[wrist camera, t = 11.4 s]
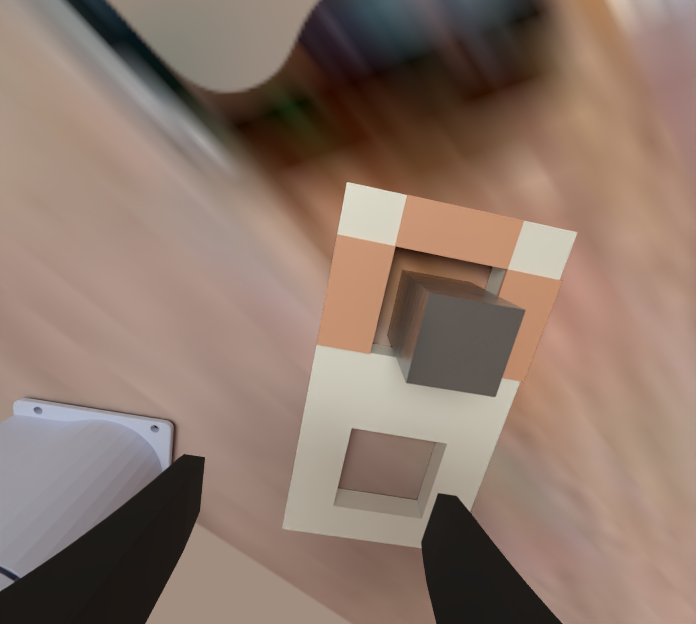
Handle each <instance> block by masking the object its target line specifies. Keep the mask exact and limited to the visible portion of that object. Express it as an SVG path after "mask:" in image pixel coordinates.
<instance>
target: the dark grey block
mask: <svg viewBox="0 0 696 624" xmlns="http://www.w3.org/2000/svg"><path fill="white" fill-rule="evenodd" d="M525 311H526V310H525V309H523V308H521V307H519V306H517V305H515V304H513V303H511V302H509V301H507V300H505V299H503V298H501V297H499V296H497V295H495V294H493V293H491V292H489V291H487V290H485V289H483V288H481V287H479V286H477V285H475V284H473V283H471V282H467V281H461V280H456V279H450V278H445V277H439V276H434V275H429V274H423V273H418V272H412V271H407V270H402V274H401V278H400V282H399V287H398V291H397V295H396V300H395V304H394V308H393V313H392V317H391V321H390V326H389V330H388V334H387V335H388V338H389V340H390V343H391V345H392V348H393V351H394V353H395V356H396V358H397V361H398V364H399V366H400V369H401V371H402V374H403V377H404V379H405V382H406V383H409V384H415V385H421V386H428V387H434V388H440V389H446V390H453V391H459V392H465V393H471V394H478V395H484V396H490V397H496V395H497V392H498V389H499V386H500V383H501V380H502V377H503V374H504V371H505V369H506V366H507V363H508V360H509V357H510V354H511V351H512V348H513V345H514V343H515V340H516V337H517V334H518V331H519V328H520V325H521V322H522V320H523V317H524V314H525Z"/></svg>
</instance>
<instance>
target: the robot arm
mask: <svg viewBox="0 0 696 624" xmlns="http://www.w3.org/2000/svg"><path fill="white" fill-rule="evenodd" d="M40 408H41V409H42V410H41V409H40ZM13 411H14V415H13V416H11V417H9V418H8V419H6V420H5V421H3V422H1V423H0V624H145V623H146V621H147V619H148V617H149V615H150V614H151V612H152V610H153V608H154V606H155V604H156V602H157V600H158V598H159V596H160V594H161V593H162V591H163V589H164V587H165V585H166V583H167V581H168V580H169V578H170V576H171V574H172V572H173V570H174V568H175V566H176V564H177V562H178V560H179V558H180V557H181V554H182V553H183V551H184V548H185V546H186V543H187V541H188V539H189V537H190V534H191V532H192V529H193V527H194V524H195V522H196V519H197V517H198V514H199V512H200V504H201V493H202V483H203V473H204V462H205V457H199V456H193V455H186V454H184V455H182V456H181V457H179V458H178V459H177V460H176V461H175V462H174V463H172V447H173V431H174V427H173V424H172V423H171V422H170V421H167V420H162V419H156V418H149V417H143V416H137V415H131V414H124V413H118V412H112V411H105V410H99V409H93V408H87V407H80V406H74V405H68V404H62V403H55V402H49V401H43V400H36V399H30V398H21V399H19V400H17V401H15V402H14V403H13ZM154 425H155V426H157V427H158V428H159V429H158V428H156V427H155V426H154ZM171 463H172V464H171ZM421 546H422V554H423V562H424V569H425V575H426V582H427V586H428V590H429V595H430V599H431V603H432V607H433V611H434V615H435V619H436V623H437V624H562V623H561V622H560V621H559V619H558V618H557V617H556V616H555V615H554V614H553V613H552V612H551V611H550V610H549V608H548V607H547V606H546V605H545V604H544V603H543V601H542V600H541V599H540V598H539V597H538V596H537V595H536V593H535V592H534V591H533V590H532V589H531V588H530V587H529V585H528V584H527V583H526V582H525V581H524V580H523V578H522V577H521V576H520V575H519V574H518V572H517V571H516V570H515V569H514V568H513V566H512V565H511V564H510V563H509V561H508V560H507V559H506V558H505V556H504V555H503V554H502V553H501V551H500V550H499V549H498V548H497V546H496V545H495V544H494V543H493V541H492V540H491V539H490V538H489V536H488V535H487V534H486V532H485V531H484V530H483V529H482V527H481V526H480V525H479V523H478V522H477V521H476V520H475V518H474V517H473V516H472V514H471V513H470V512H469V510H468V509H467V508H466V507H465V505H464V504H463V503H462V502H461V500H460V499H459V498H458V497H457V496H455V495H448V494H442V493H438V494H437V497H436V500H435V503H434V506H433V509H432V512H431V515H430V518H429V521H428V524H427V526H426V529H425V532H424V535H423V538H422V541H421Z"/></svg>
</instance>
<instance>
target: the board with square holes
mask: <svg viewBox="0 0 696 624" xmlns="http://www.w3.org/2000/svg"><path fill="white" fill-rule="evenodd" d="M576 235H577V232H573V231H569V230H564V229H560V228H555V227H550V226H546V225H541V224H537V223H532V222H527V221H524V220H520V219H516V218H511V217H507V216H502V215H497V214H493V213H488V212H484V211H479V210H475V209H470V208H465V207H461V206H456V205H452V204H447V203H442V202H438V201H433V200H429V199H424V198H420V197H415V196H410V195H404V194H399V193H395V192H390V191H385V190H381V189H376V188H372V187H367V186H362V185H358V184H353V183H349V182H347V185H346V191H345V196H344V201H343V207H342V212H341V217H340V223H339V228H338V233H337V239H336V244H335V249H334V255H333V260H332V265H331V271H330V276H329V281H328V287H327V292H326V297H325V303H324V308H323V313H322V319H321V324H320V329H319V334H318V340H317V345H316V351H315V356H314V361H313V367H312V372H311V377H310V383H309V388H308V393H307V399H306V404H305V409H304V415H303V420H302V425H301V431H300V436H299V441H298V447H297V452H296V457H295V463H294V468H293V473H292V478H291V484H290V489H289V494H288V500H287V505H286V510H285V516H284V521H283V526H282V529H286V530H294V531H301V532H308V533H315V534H322V535H330V536H337V537H344V538H351V539H358V540H365V541H373V542H380V543H387V544H394V545H401V546H408V547H416V548H422V546H421V541H422V538H423V535H424V532H425V529H426V526H427V524H428V521H429V518H430V515H431V512H432V509H433V506H434V503H435V500H436V497H437V494H438V493H442V494H448V495H455V496H457V497H458V498H459V499H460V500H461V502H462V503H463V504H464V505H465V507H466V508H467V509H468V510H469V512H470V511H471V508H472V506H473V503H474V500H475V498H476V495H477V493H478V490H479V487H480V485H481V482H482V480H483V477H484V474H485V472H486V469H487V467H488V464H489V461H490V459H491V456H492V454H493V451H494V448H495V446H496V443H497V441H498V438H499V435H500V433H501V430H502V428H503V425H504V422H505V420H506V417H507V415H508V412H509V409H510V407H511V404H512V402H513V399H514V396H515V394H516V391H517V389H518V386H519V383H520V381H521V382H523V380H524V379H525V376H526V374H527V371H528V369H529V366H530V364H531V361H532V358H533V356H534V353H535V351H536V348H537V346H538V343H539V340H540V338H541V335H542V333H543V330H544V327H545V325H546V322H547V320H548V317H549V315H550V312H551V309H552V307H553V304H554V302H555V299H556V296H557V294H558V291H559V289H560V286H561V284H562V281H563V280H559V279H560V277H561V274H562V272H563V269H564V266H565V264H566V261H567V258H568V256H569V253H570V251H571V248H572V245H573V243H574V240H575V238H576ZM395 247H401V248H406V249H411V250H416V251H421V252H425V253H430V254H435V255H440V256H445V257H450V258H455V259H459V260H464V261H469V262H474V263H479V264H484V265H489V266H493V267H492V270H491V273H490V276H489V279H488V282H487V285H486V288H485V290H487V291H489V292H491V293H493V294H495V295H497V296H499V297H501V298H503V299H505V300H507V301H509V302H511V303H513V304H515V305H517V306H519V307H521V308H523V309H525V310H526V311H525V314H524V317H523V320H522V322H521V325H520V328H519V331H518V334H517V337H516V340H515V343H514V345H513V348H512V351H511V354H510V357H509V360H508V363H507V366H506V369H505V371H504V374H503V377H502V380H501V383H500V386H499V389H498V392H497V395H496V397H490V396H484V395H478V394H471V393H465V392H459V391H453V390H446V389H440V388H434V387H428V386H421V385H415V384H409V383H406V382H405V379H404V377H403V374H402V371H401V369H400V366H399V364H398V361H397V358H396V356H395V353H394V351H393V348H392V347H388V346H382V345H377V344H372V343H373V339H374V335H375V331H376V327H377V322H378V318H379V314H380V310H381V305H382V301H383V297H384V293H385V289H386V284H387V280H388V276H389V272H390V268H391V263H392V259H393V255H394V251H395ZM352 428H354V429H360V430H366V431H373V432H379V433H385V434H391V435H397V436H403V437H409V438H415V439H421V440H427V441H434V442H436V443H435V446H434V449H433V452H432V455H431V458H430V461H429V464H428V468H427V471H426V474H425V477H424V480H423V483H422V486H421V489H420V492H419V495H418V498H417V500H413V499H406V498H399V497H393V496H386V495H380V494H373V493H366V492H360V491H353V490H346V489H340V488H338V484H339V480H340V476H341V471H342V467H343V463H344V459H345V454H346V450H347V446H348V442H349V438H350V433H351V429H352Z"/></svg>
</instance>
